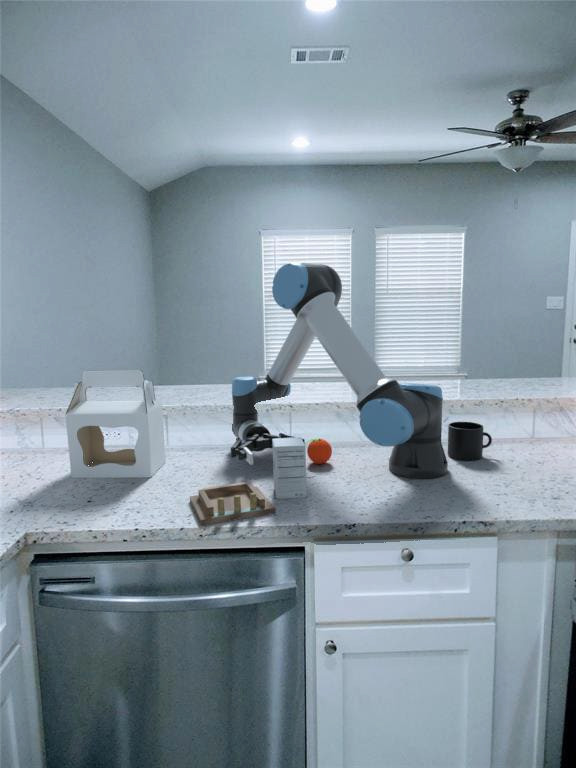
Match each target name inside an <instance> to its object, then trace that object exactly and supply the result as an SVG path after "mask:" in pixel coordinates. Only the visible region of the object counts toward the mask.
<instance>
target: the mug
mask: <svg viewBox="0 0 576 768" xmlns="http://www.w3.org/2000/svg"><path fill="white" fill-rule="evenodd" d="M447 427H448V430H447V455H448V456H449V457H450V458H451V459H454V460H458V461H466V462H467V461H470V462H471V461H478V460H480V459H482V458H483V451H484V450H483V449H486V448H488V447H489V448H490V446H491V445H492V442H493V441H492V440H493V439H492V436H491V435H490V433H488V432H485V431H484V425H482V424H481V423H477V422H472V421H453V422H449V424H448V426H447ZM484 436H485V437H487V438H488V442H487V443H486V444H484Z"/></svg>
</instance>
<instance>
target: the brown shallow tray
mask: <svg viewBox="0 0 576 768" xmlns="http://www.w3.org/2000/svg"><path fill="white" fill-rule="evenodd" d="M197 492H198V494H197V495H191V496H189V502H190V505H191V507H192V508H193V511H194V514H195V515H196V518H197V517H198V518H197V520H198V522H199V525H200V526H201V525H202V526H207V525H206V524H208V525H212V524H211V523H214V524H220V523H225V522H230V521H229V520H231V521H235V520H234V519H237V520H240V519H239V518H243V519H246V518H245V517H249V518H252V517H251V516H255V517H259V516H258V515H261V516H264V515H263V514H267V515H270V514H269V513H273V514H275V513H276V507H275V506H274V505H273V504H272V503H271V501H270V500H269V499H268V498H267V497H266V495H265V494H264V493H263V492H262V491H261V489H259V487H258V486H257V485H256V486H255V485H254V484H253V483H252V482H251V481H250V482H245V481H243V482H237V483H229V484H222V485H217V486H209V487H203V488H201V489H198V490H197ZM224 521H225V522H224ZM217 522H218V523H217ZM219 522H220V523H219Z"/></svg>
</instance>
